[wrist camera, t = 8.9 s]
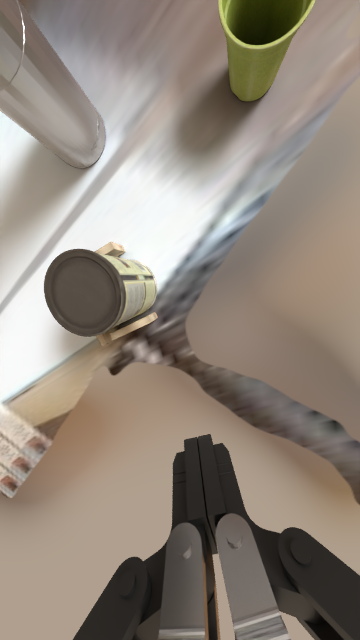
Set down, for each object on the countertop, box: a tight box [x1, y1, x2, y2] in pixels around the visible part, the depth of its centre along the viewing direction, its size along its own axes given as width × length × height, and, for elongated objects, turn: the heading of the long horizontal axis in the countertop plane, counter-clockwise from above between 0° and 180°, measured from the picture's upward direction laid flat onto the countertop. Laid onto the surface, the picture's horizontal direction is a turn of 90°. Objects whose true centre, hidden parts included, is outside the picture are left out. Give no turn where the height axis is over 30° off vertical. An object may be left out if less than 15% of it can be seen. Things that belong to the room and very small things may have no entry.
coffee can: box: [44, 249, 157, 337], centre depth 30 cm, size 10×10×14 cm
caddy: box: [95, 242, 158, 346], centre depth 34 cm, size 9×14×6 cm, turn 26°
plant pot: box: [218, 0, 315, 101], centre depth 23 cm, size 9×9×9 cm
